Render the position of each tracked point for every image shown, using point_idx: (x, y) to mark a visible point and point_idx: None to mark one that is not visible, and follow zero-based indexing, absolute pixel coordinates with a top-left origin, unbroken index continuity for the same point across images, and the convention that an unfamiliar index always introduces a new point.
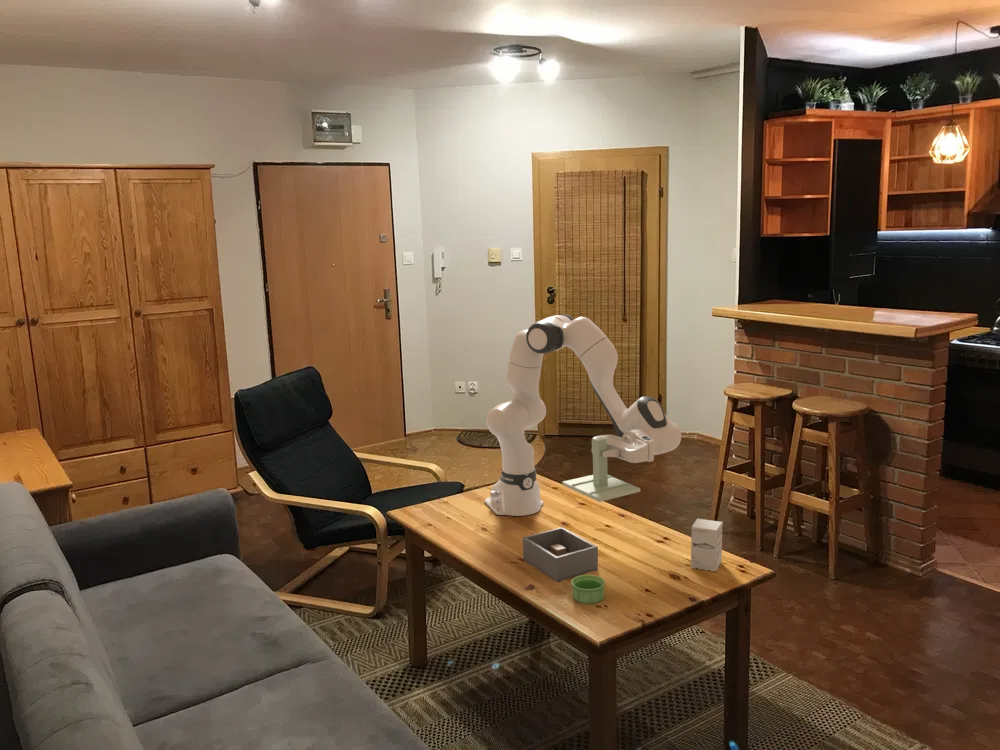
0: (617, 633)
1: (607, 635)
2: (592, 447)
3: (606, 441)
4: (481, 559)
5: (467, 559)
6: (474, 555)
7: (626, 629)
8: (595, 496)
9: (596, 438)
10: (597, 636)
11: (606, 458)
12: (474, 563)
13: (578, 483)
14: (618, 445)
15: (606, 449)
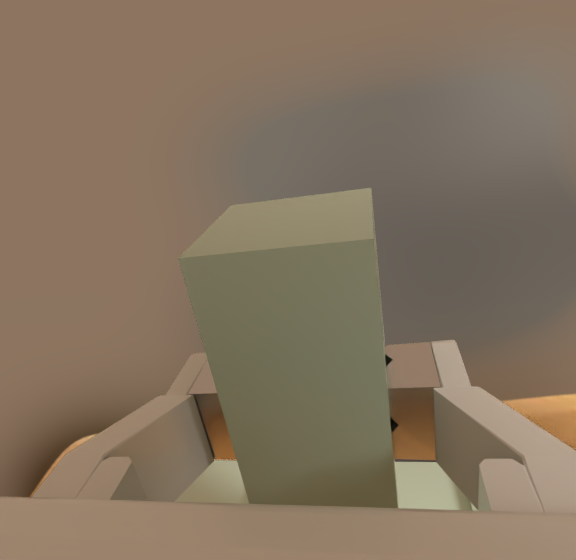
0: (48, 470)
1: (65, 453)
2: (450, 340)
3: (191, 293)
4: (533, 420)
5: (545, 397)
6: (570, 416)
7: (34, 491)
8: (213, 463)
9: (337, 205)
10: (82, 440)
11: (255, 501)
12: (511, 401)
13: (470, 504)
14: (20, 543)
15: (224, 404)
